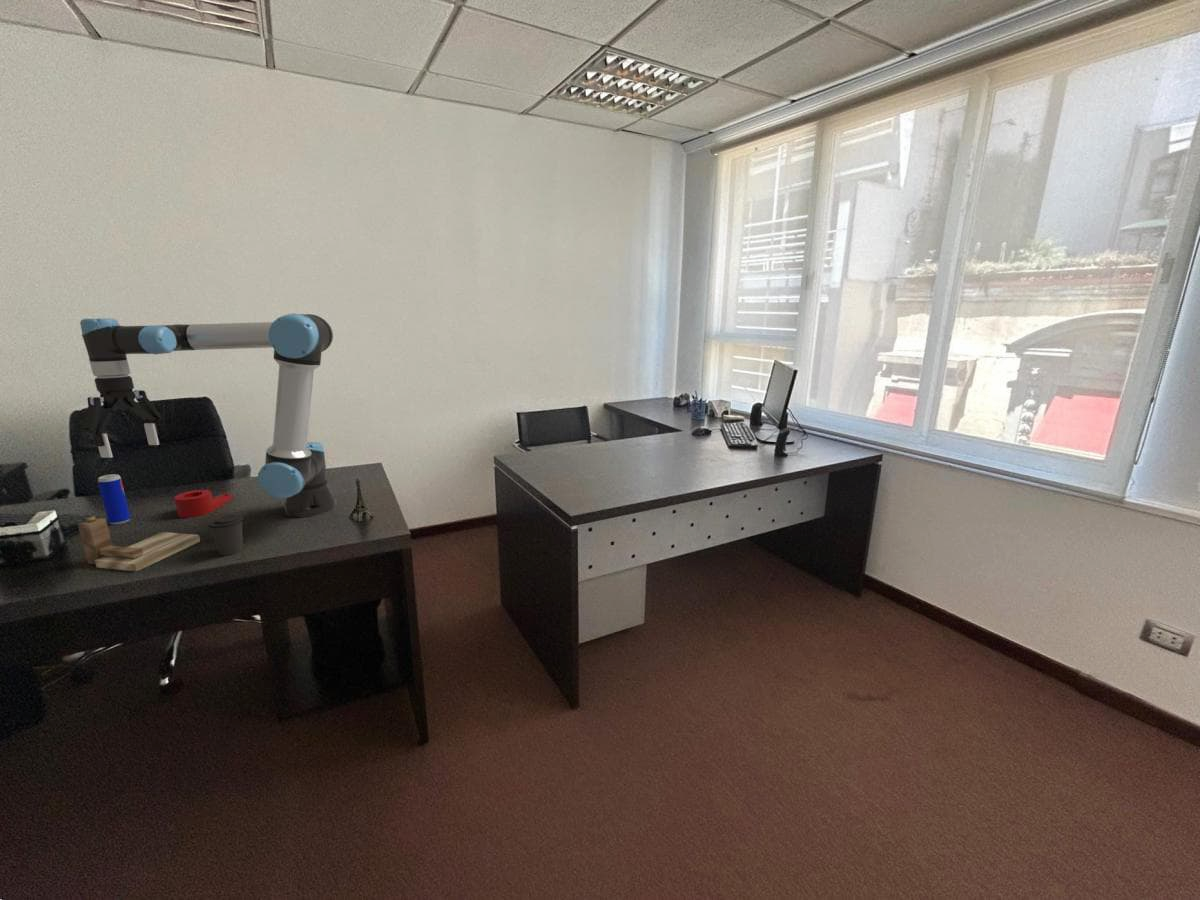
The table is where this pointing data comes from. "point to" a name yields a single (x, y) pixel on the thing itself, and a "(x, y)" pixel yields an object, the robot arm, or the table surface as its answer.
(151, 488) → the table surface
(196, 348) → the robot arm
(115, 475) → the beverage can
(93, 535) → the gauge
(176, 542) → the board
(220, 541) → the coffee cup
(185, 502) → the lever
